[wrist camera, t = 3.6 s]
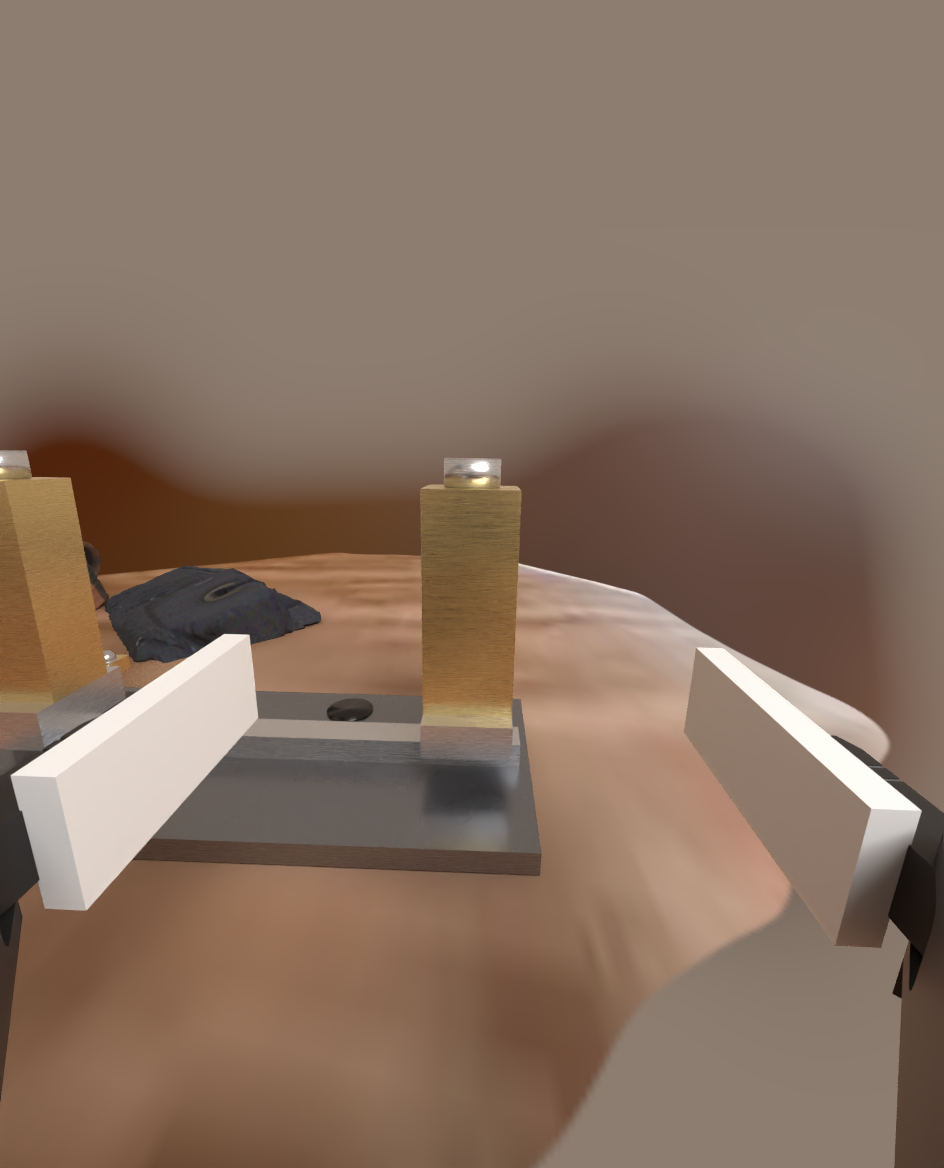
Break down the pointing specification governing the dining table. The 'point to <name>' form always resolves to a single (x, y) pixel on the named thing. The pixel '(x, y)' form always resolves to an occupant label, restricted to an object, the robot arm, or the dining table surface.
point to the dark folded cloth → (201, 612)
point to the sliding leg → (469, 611)
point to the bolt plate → (249, 734)
